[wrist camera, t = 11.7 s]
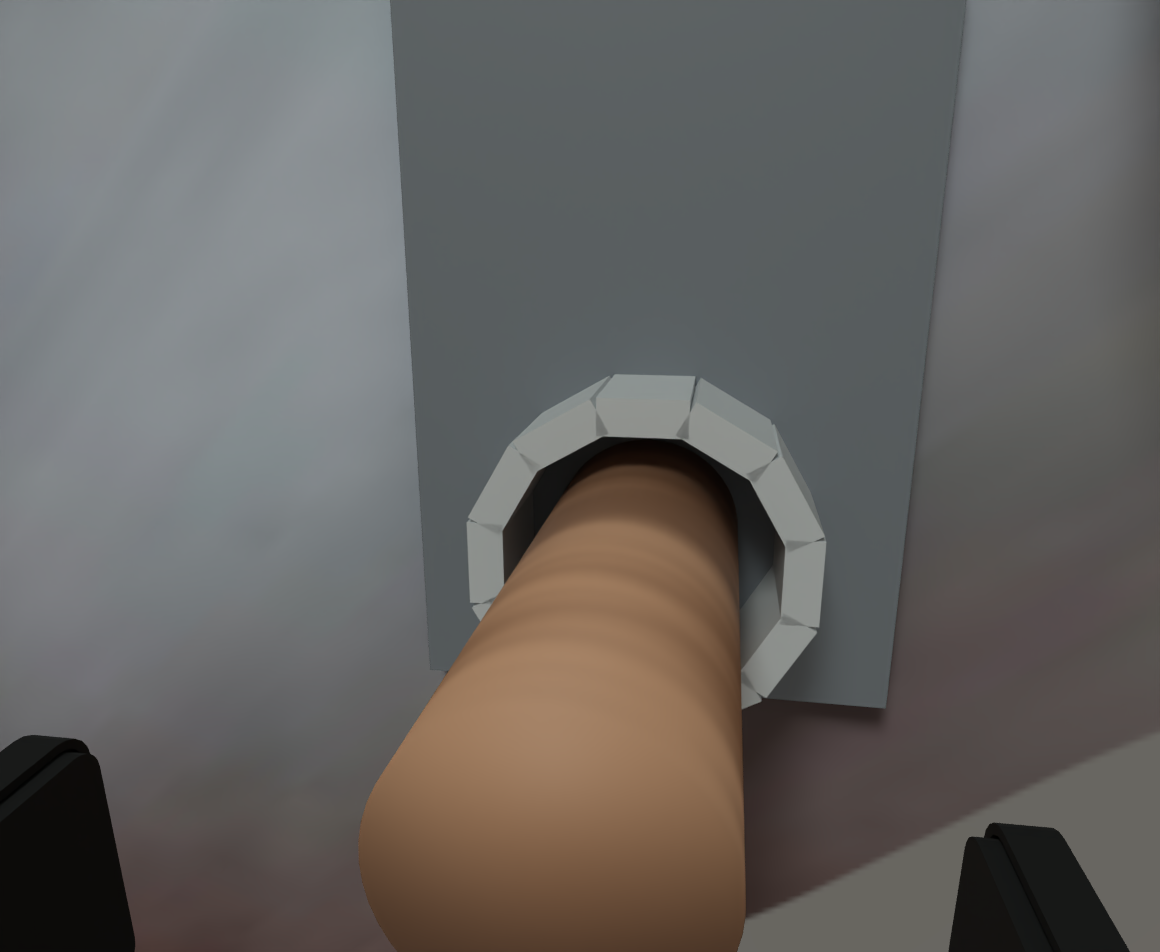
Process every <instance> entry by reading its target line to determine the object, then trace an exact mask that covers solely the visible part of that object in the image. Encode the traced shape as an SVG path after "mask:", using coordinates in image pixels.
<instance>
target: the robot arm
mask: <svg viewBox="0 0 1160 952" xmlns="http://www.w3.org/2000/svg"><path fill="white" fill-rule="evenodd" d="M134 951H135V936H134V931H133V927H132V922H131V917H130V912H129V907H128V902H127V897H126V892H125V887H124V882H123V878H122V873H121V868H120V863H119V858H118V853H117V848H116V843H115V838H114V833H113V828H112V824H111V819H110V814H109V809H108V804H107V799H106V794H105V789H104V784H103V779H102V775H101V770H100V765H99V763H98V760H97V759H96V758H95V757H94V756H93V755H91V754H90V752H89V749H88V747H87V746H86V745H85V744H84V743H83V742H82V741H80V740H77V739H71V738H60V737H49V736H38V735H30V736H24V737H22V738H20V739H18V740H16V741H14V742H13V743H12V744H10V745H9V746H8V747H6V748H5V749H4V750H2V751H1V752H0V952H134ZM949 952H1130V951H1129V949H1128V948H1127V946H1126V944H1125V942H1124V941H1123V939H1122V937H1121V935H1120V934H1119V932H1118V931H1117V929H1116V927H1115V925H1114V923H1113V922H1112V920H1111V918H1110V917H1109V915H1108V913H1107V911H1106V910H1105V908H1104V906H1103V904H1102V903H1101V901H1100V899H1099V898H1098V896H1097V894H1096V893H1095V891H1094V889H1093V887H1092V886H1091V884H1090V882H1089V880H1088V879H1087V877H1086V875H1085V873H1084V872H1083V870H1082V868H1081V867H1080V865H1079V863H1078V861H1077V860H1076V858H1075V856H1074V855H1073V853H1072V851H1071V849H1070V848H1069V846H1068V844H1067V842H1066V841H1065V839H1064V838H1063V836H1062V835H1061V834H1060V832H1059V831H1057V830H1055V829H1054V828H1047V827H1036V826H1024V825H1014V824H1003V823H1002V824H1001V823H992V824H989V826H988V828H987V829H986V832H985V836H984V838H982V837H969V838H968V840H967V842H966V846H965V850H964V857H963V863H962V869H961V876H960V882H959V889H958V895H957V901H956V908H955V913H954V920H953V926H952V933H951V939H950V945H949Z"/></svg>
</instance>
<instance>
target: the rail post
mask: <svg viewBox="0 0 1160 952" xmlns="http://www.w3.org/2000/svg"><path fill="white" fill-rule="evenodd" d="M358 842H359V865H360V871H361V877H362V883H363V886H364V889H365V892H366V896H367V899H368V902H369V904H370V907H371V909H372V911H373V913H374V915H375V917H376V920H377V922H378V924H379V925H380V927H381V928H382V930H383V932H384V933H385V935H386V937H387V938H388V940H389V941H390V943H391V944H392V945H393V947H394V948H395V949H396V950H397V952H737V950H738V947H739V944H740V941H741V938H742V934H743V928H744V922H745V915H746V889H745V842H744V796H743V749H742V703H741V657H740V610H739V564H738V519H737V513H736V507H735V504H734V501H733V498H732V495H731V493H730V491H729V489H728V487H727V485H726V484H725V482H724V481H723V479H722V477H721V476H720V475H719V474H718V473H717V471H716V470H715V469H714V468H713V467H712V466H711V465H710V464H709V463H707V462H706V461H705V460H704V459H703V458H701V457H700V456H698V455H697V454H695V453H694V452H692V451H690V450H688V449H686V448H684V447H681V446H678V445H676V444H673V443H669V442H664V441H658V440H634V441H627V442H623V443H620V444H616V445H614V446H611V447H609V448H607V449H605V450H603V451H601V452H600V453H598V454H596V455H595V456H593V457H592V458H591V459H590V460H588V461H587V462H586V463H585V464H584V465H583V466H582V467H581V468H580V469H579V471H578V472H577V473H576V475H575V476H574V478H573V479H572V481H571V482H570V484H569V485H568V487H567V488H566V490H565V491H564V493H563V494H562V496H561V498H560V499H559V501H558V502H557V504H556V505H555V507H554V508H553V510H552V512H551V513H550V515H549V516H548V518H547V519H546V521H545V522H544V524H543V525H542V527H541V529H540V530H539V532H538V533H537V535H536V536H535V538H534V539H533V541H532V542H531V544H530V546H529V547H528V549H527V550H526V552H525V553H524V555H523V556H522V558H521V560H520V561H519V563H518V564H517V566H516V567H515V569H514V570H513V572H512V573H511V575H510V577H509V578H508V580H507V581H506V583H505V584H504V586H503V587H502V589H501V591H500V592H499V594H498V595H497V597H496V598H495V600H494V601H493V603H492V604H491V606H490V608H489V609H488V611H487V612H486V614H485V615H484V617H483V618H482V620H481V621H480V623H479V625H478V626H477V628H476V629H475V631H474V632H473V634H472V635H471V637H470V639H469V640H468V642H467V643H466V645H465V646H464V648H463V649H462V651H461V652H460V654H459V656H458V657H457V659H456V660H455V662H454V663H453V665H452V666H451V668H450V669H449V671H448V673H447V674H446V676H445V677H444V679H443V680H442V682H441V683H440V685H439V687H438V688H437V690H436V691H435V693H434V694H433V696H432V697H431V699H430V700H429V702H428V704H427V705H426V707H425V708H424V710H423V711H422V713H421V714H420V716H419V718H418V719H417V721H416V722H415V724H414V725H413V727H412V728H411V730H410V731H409V733H408V735H407V736H406V738H405V739H404V741H403V742H402V744H401V745H400V747H399V748H398V750H397V752H396V753H395V755H394V756H393V758H392V759H391V761H390V762H389V764H388V766H387V767H386V769H385V770H384V772H383V773H382V775H381V776H380V778H379V779H378V781H377V783H376V784H375V786H374V788H373V790H372V793H371V795H370V797H369V799H368V801H367V803H366V807H365V810H364V813H363V817H362V820H361V826H360V834H359V841H358Z"/></svg>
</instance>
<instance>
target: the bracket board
mask: <svg viewBox="0 0 1160 952" xmlns="http://www.w3.org/2000/svg"><path fill="white" fill-rule="evenodd" d="M390 5H391V22H392V39H393V55H394V72H395V89H396V105H397V122H398V139H399V156H400V172H401V189H402V206H403V223H404V239H405V256H406V273H407V290H408V306H409V323H410V340H411V357H412V373H413V390H414V407H415V423H416V440H417V457H418V474H419V490H420V507H421V524H422V541H423V557H424V574H425V591H426V608H427V624H428V641H429V658H430V670H442V671H449V669H450V668H451V666H452V665H453V663H454V662H455V660H456V659H457V657H458V656H459V654H460V652H461V651H462V649H463V648H464V646H465V645H466V643H467V642H468V640H469V639H470V637H471V635H472V634H473V632H474V631H475V629H476V628H477V626H478V625H479V623H480V621H481V620H482V618H483V617H484V615H485V614H486V612H487V611H488V609H489V608H490V606H491V604H492V603H493V601H494V600H495V598H496V597H497V595H498V594H499V592H500V591H501V589H502V587H503V586H504V584H505V583H506V581H507V580H508V578H509V577H510V575H511V573H512V572H513V570H514V569H515V567H516V566H517V564H518V563H519V561H520V560H521V558H522V556H523V555H524V553H525V552H526V550H527V549H528V547H529V546H530V544H531V542H532V541H533V539H534V538H535V536H536V535H537V533H538V532H539V530H540V529H541V527H542V525H543V524H544V522H545V521H546V519H547V518H548V516H549V515H550V513H551V512H552V510H553V508H554V507H555V505H556V504H557V502H558V501H559V499H560V498H561V496H562V494H563V493H564V491H565V490H566V488H567V487H568V485H569V484H570V482H571V481H572V479H573V478H574V476H575V475H576V473H577V472H578V471H579V469H580V468H581V467H582V466H583V465H584V464H585V463H586V462H587V461H588V460H590V459H591V458H592V457H593V456H595V455H596V454H598V453H600V452H601V451H603V450H605V449H607V448H609V447H611V446H614V445H616V444H620V443H623V442H627V441H634V440H658V441H664V442H669V443H673V444H676V445H678V446H681V447H684V448H686V449H688V450H690V451H692V452H694V453H695V454H697V455H698V456H700V457H701V458H703V459H704V460H705V461H706V462H707V463H709V464H710V465H711V466H712V467H713V468H714V469H715V470H716V471H717V473H718V474H719V475H720V476H721V477H722V479H723V481H724V482H725V484H726V485H727V487H728V489H729V491H730V493H731V495H732V498H733V501H734V504H735V507H736V513H737V519H738V564H739V610H740V657H741V703H742V709H744V708H746V707H749V706H751V705H754V704H756V703H759V702H761V698H769V699H780V700H792V701H804V702H815V703H827V704H839V705H850V706H862V707H874V708H885V709H886V702H887V693H888V684H889V675H890V667H891V658H892V649H893V640H894V631H895V623H896V614H897V605H898V596H899V587H900V579H901V570H902V561H903V552H904V543H905V535H906V526H907V517H908V508H909V499H910V491H911V482H912V473H913V464H914V455H915V447H916V438H917V429H918V420H919V411H920V403H921V394H922V385H923V376H924V367H925V359H926V350H927V341H928V332H929V323H930V315H931V306H932V297H933V288H934V279H935V271H936V262H937V253H938V244H939V235H940V227H941V218H942V209H943V200H944V191H945V183H946V174H947V165H948V156H949V147H950V138H951V130H952V121H953V112H954V103H955V94H956V86H957V77H958V68H959V59H960V50H961V42H962V33H963V24H964V15H965V6H966V0H390Z"/></svg>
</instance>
